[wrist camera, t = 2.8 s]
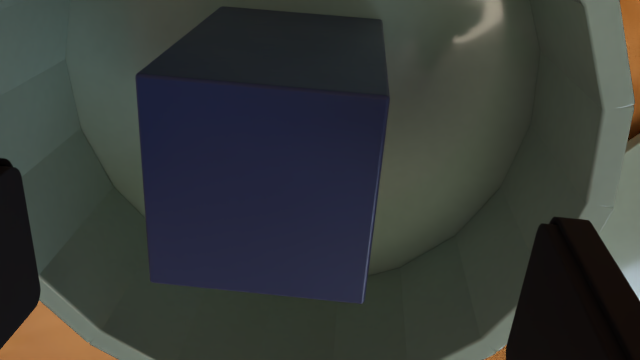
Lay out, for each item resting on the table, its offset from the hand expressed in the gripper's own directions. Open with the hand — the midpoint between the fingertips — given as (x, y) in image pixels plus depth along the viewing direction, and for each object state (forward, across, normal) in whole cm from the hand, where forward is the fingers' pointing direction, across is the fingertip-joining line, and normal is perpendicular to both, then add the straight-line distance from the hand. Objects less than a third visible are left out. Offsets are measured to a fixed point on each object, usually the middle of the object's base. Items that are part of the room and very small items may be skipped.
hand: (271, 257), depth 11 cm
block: (+10, +1, 0) cm, 10 cm away
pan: (+10, +1, 0) cm, 10 cm away
